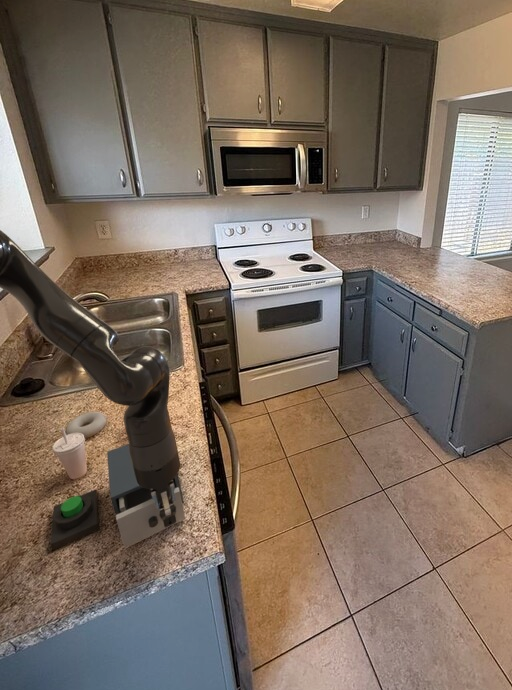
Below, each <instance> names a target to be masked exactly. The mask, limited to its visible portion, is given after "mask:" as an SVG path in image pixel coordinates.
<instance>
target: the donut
mask: <svg viewBox="0 0 512 690" xmlns="http://www.w3.org/2000/svg"><path fill="white" fill-rule="evenodd" d="M106 423H107V417H106V415H105V414H104V413H103V412H102V411H101V412H100V411H97V410H96V411H89V412H84V413H82V414H79V415H77V416H75V417H74V418H73V419H71V421H70V422H68V424H67V425H66V427H65V433H66V435H68V434H72V433H81V434H83V435H84V438H85V439H88V438H91V437H93V436H95V435H97V434H98V433H99V432H101V431H102V430H103V429H104V427H105V426H106Z"/></svg>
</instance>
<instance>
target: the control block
mask: <svg viewBox="0 0 512 690" xmlns="http://www.w3.org/2000/svg"><path fill="white" fill-rule="evenodd" d="M77 496H79V497H81V499H82V502H83V508H82V510H81V511H80V512H79V513H77V514H76V515H74V516H72V517H64V516H63V513H62V511H61V506H62V504H63V503H64V502H61V503H59V504H56V505H54V506H53V511H52V512H53V513H52V523H51V533H50V542H49V546H50V548H51V551H55V550H57V549H59V548H61V547H64V546H66V545H68V544H70V543H72V542H75V541H77V540H80V539H82V538H84V537H85V536H88V535H90V534H92V533H94V532H97V531H99V530H100V513H99V511H100V509H99V494H98V489H94V490H90V491H89V492H86V493H83V494H81V495H77Z"/></svg>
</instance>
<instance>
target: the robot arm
mask: <svg viewBox="0 0 512 690" xmlns="http://www.w3.org/2000/svg"><path fill="white" fill-rule="evenodd" d="M0 289H2V290H4V291H5V292H7V293H9V294H10V295H11V296H12V297H14V298H15V299H16V301H18V302H19V304H20V305H21V306H22V307H23V308H24V310H25V312H26V313H27V315H28V317H29V319H30V320H31V322H32V324H33V326H34V327H35V328H36V329H35V330H37V331H38V333H39V334H40V335H41V336H42V338H44V339H45V340H46V341H47V342H48V343H50V344H51V345H52V346H54V347H56V348H57V349H59V350H60V351H61V352H63V353H64V354H65V355H67V356H68V357H70V358H71V359H72V360H74V361H76V362H77V363H78V364H79V365H80V367H81V368H82V369H83V370H84V372H85V373H86V374H87V375H88V377H89V378H90V380H92V382H93V383H94V385H95V386H96V387H97V388H98V389H99V391H100V392H101V393H102V395H103V396H104V397H105V398H106V399H108V400H109V401H110V402H112V403H115V404H116V405H120V406H126V407H127V408H126V409H125V411H124V414H123V424H124V429H125V434H126V437H127V441H128V444H129V452H130V457H131V461H132V465H133V469H134V473H135V477H136V481H137V483H138V484H139V485H140V486H141V487H143V488H146V489H151V495H152V499H153V500H154V501H155V505H156V509H159V510H160V511H159V512H160V514H159V515H160V517H161V519H162V521H163V522H164V527H168V526H170V525H172V524H174V523H176V517H175V514H176V506H175V505H174V502H175V500H176V499H175V494H174V490H175V486H174V482H173V478H174V477H175V476H176V475H177V474H178V475H179V472H180V469H181V460H180V455H179V450H178V445H177V439H176V435H175V432H174V430H173V426H172V422H171V418H170V417H171V416H170V412H169V408H168V405H169V404H168V403H169V396H170V367H169V363H168V360H167V358H166V357H165V355H164V353H162V352H161V351H160V350H159V349H158V348H156V347H153V346H150V345H144V346H140V347H137V348H135V349H134V350H132V351H131V352H130V353H129V354H126V356H125V357H124V358H122V359H121V358H120V357H119V356H118V355H117V353H116V352H115V351H114V349H115V347H116V346H117V344H118V342H119V339H120V335H119V334H118V331H116V330H115V329H114V328H113V327H112V326H110V325H109V324H107V323H106V322H105V321H104V320H102V319H101V318H100V317H99V316H97V315H96V314H94V313H93V312H92V311H90V310H89V309H87V308H86V307H85V306H83V305H82V304H80V303H79V302H78V301H77V300H76V299H74V298H73V297H72V296H70V294H68V292H66V291H65V290H64V289H62V288H61V287H60V286H59V285H58V284H57V283H56V282H55V281H54V280H53V279H51V277H49V276H48V274H47V273H46V272H44V270H42V269H41V268H40V266H38V264H36V263H35V262H34V261H33V259H32V258H30V257H29V256H28V255H27V253H26V252H25V251H24V250H23V249H22V248H21V247H20V246H19V245H18V244H17V243H16V242H15V241H14V240H13V239H11V237H10V236H8V235H7V234H6V233H5V232H4V231H2V229H0ZM176 524H177V523H176ZM174 525H175V524H174ZM172 526H173V525H172ZM170 527H171V526H170ZM168 528H169V527H168Z"/></svg>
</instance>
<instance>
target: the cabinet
mask: <svg viewBox="0 0 512 690" xmlns="http://www.w3.org/2000/svg"><path fill="white" fill-rule="evenodd" d="M106 456H107V471H108V485H109V498H110V502H111V505H112V509H113V513H114V515H115V516H114V517H116V515H117V514H119V513H121V511H120V505H119V497H122V496H124V495H126V494H129V493H131V492H133V491H136V490H138V489H140V488H143V487H141V486H140V485H139V484H138V483H137V481H136V477H135V473H134V469H133V465H132V461H131V457H130V452H129V443H127V444H124V445H121V446H118V447H116V448H113V449H110V450H108V451H106ZM173 482H174V486H175V488H177V487H179V491H180V495H181V500H182V504H184V497H183V492H182V488H181V487H182V486H181V482H180V478H179V473H178V474H177V475H176V476H175V477H174V478H173Z"/></svg>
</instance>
